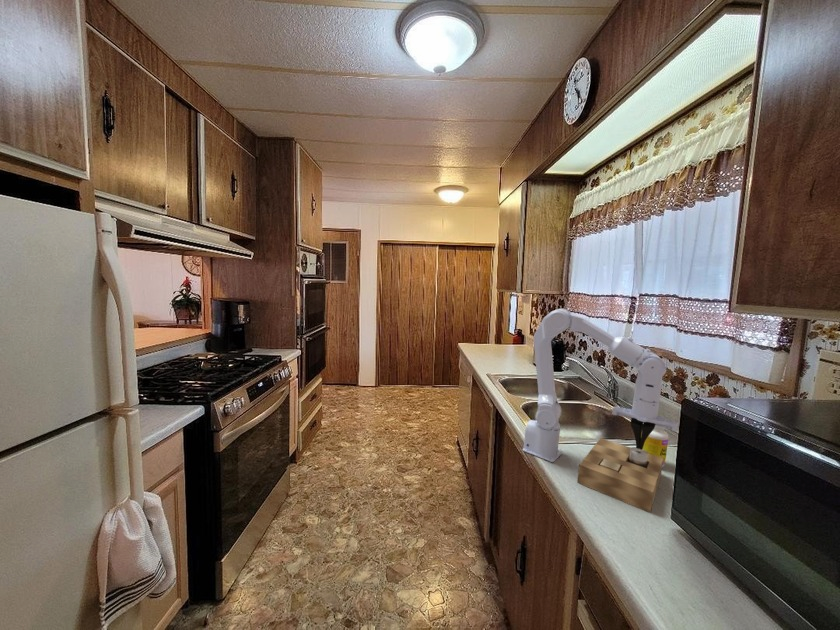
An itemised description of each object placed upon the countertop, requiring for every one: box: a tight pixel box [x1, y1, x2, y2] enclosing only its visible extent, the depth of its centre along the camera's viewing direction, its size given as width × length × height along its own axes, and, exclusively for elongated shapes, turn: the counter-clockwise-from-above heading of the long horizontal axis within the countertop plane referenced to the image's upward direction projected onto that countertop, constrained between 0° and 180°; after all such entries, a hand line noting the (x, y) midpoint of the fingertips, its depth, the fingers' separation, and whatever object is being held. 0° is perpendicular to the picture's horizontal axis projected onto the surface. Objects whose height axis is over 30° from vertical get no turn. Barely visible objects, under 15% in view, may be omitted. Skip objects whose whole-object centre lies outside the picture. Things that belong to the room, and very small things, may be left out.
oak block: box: [576, 438, 663, 513], centre depth 92 cm, size 16×22×5 cm
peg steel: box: [629, 446, 648, 468], centre depth 92 cm, size 4×4×5 cm
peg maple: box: [600, 459, 621, 472], centre depth 89 cm, size 4×4×5 cm
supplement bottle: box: [641, 425, 670, 468], centre depth 101 cm, size 7×7×13 cm
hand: (639, 447), depth 91 cm, fingers closed
